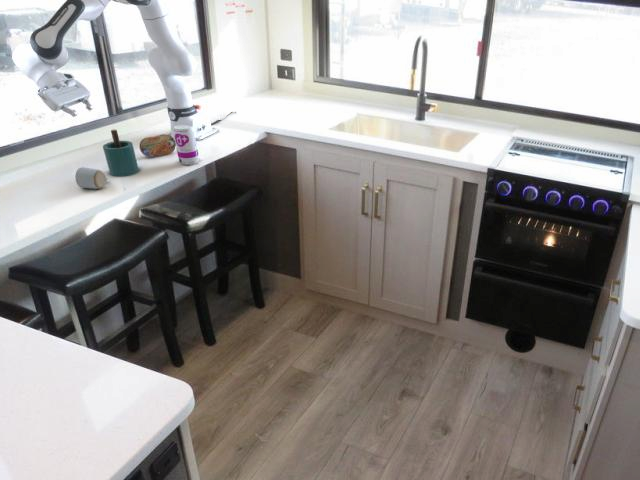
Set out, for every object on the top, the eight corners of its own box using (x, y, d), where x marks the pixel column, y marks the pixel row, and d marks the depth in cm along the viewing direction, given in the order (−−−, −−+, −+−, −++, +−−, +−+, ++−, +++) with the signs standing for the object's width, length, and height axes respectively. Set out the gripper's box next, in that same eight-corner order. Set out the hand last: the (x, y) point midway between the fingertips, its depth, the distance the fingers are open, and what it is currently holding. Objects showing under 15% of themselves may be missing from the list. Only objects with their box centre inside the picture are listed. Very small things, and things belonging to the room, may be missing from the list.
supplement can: (193, 166, 240) (187, 130, 232) (175, 164, 241) (168, 128, 233) (203, 159, 247) (196, 124, 239) (185, 158, 248) (178, 123, 240)
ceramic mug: (98, 192, 215) (93, 172, 211) (78, 190, 216) (72, 170, 212) (114, 182, 224) (109, 163, 220) (94, 180, 225) (89, 161, 221)
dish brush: (124, 166, 236) (114, 127, 228) (133, 168, 234) (123, 129, 226) (114, 170, 233) (104, 130, 224) (122, 172, 230) (112, 132, 222)
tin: (143, 159, 246) (139, 140, 242) (140, 157, 248) (136, 138, 244) (177, 152, 255) (173, 133, 250) (174, 150, 257) (170, 131, 252)
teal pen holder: (126, 165, 240) (120, 139, 234) (144, 169, 236) (138, 143, 230) (104, 173, 232) (96, 146, 226) (122, 178, 228) (115, 150, 222)
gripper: (37, 84, 209) (69, 113, 213) (74, 73, 226) (103, 100, 230) (30, 96, 212) (62, 124, 216) (67, 84, 229) (96, 111, 233)
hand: (83, 112), depth 223 cm, fingers open, 8 cm apart
